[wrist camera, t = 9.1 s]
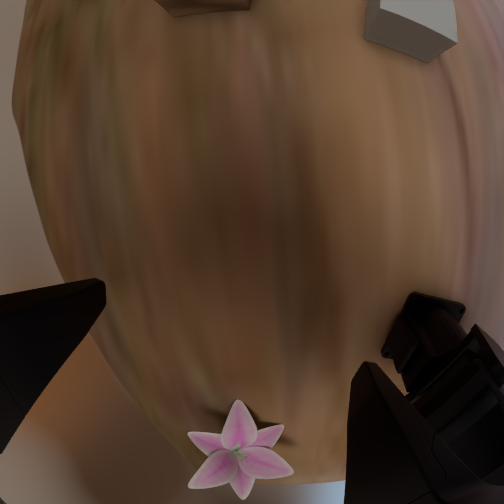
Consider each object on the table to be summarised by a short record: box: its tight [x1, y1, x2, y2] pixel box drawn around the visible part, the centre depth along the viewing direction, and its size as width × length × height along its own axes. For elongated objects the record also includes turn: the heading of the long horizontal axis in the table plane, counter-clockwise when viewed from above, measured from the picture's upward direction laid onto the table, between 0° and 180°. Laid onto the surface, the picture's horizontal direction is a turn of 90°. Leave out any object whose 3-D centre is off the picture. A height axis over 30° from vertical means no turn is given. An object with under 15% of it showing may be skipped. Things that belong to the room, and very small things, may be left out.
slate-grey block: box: [363, 0, 458, 63], centre depth 10 cm, size 5×5×5 cm
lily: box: [188, 399, 294, 500], centre depth 24 cm, size 12×12×10 cm
